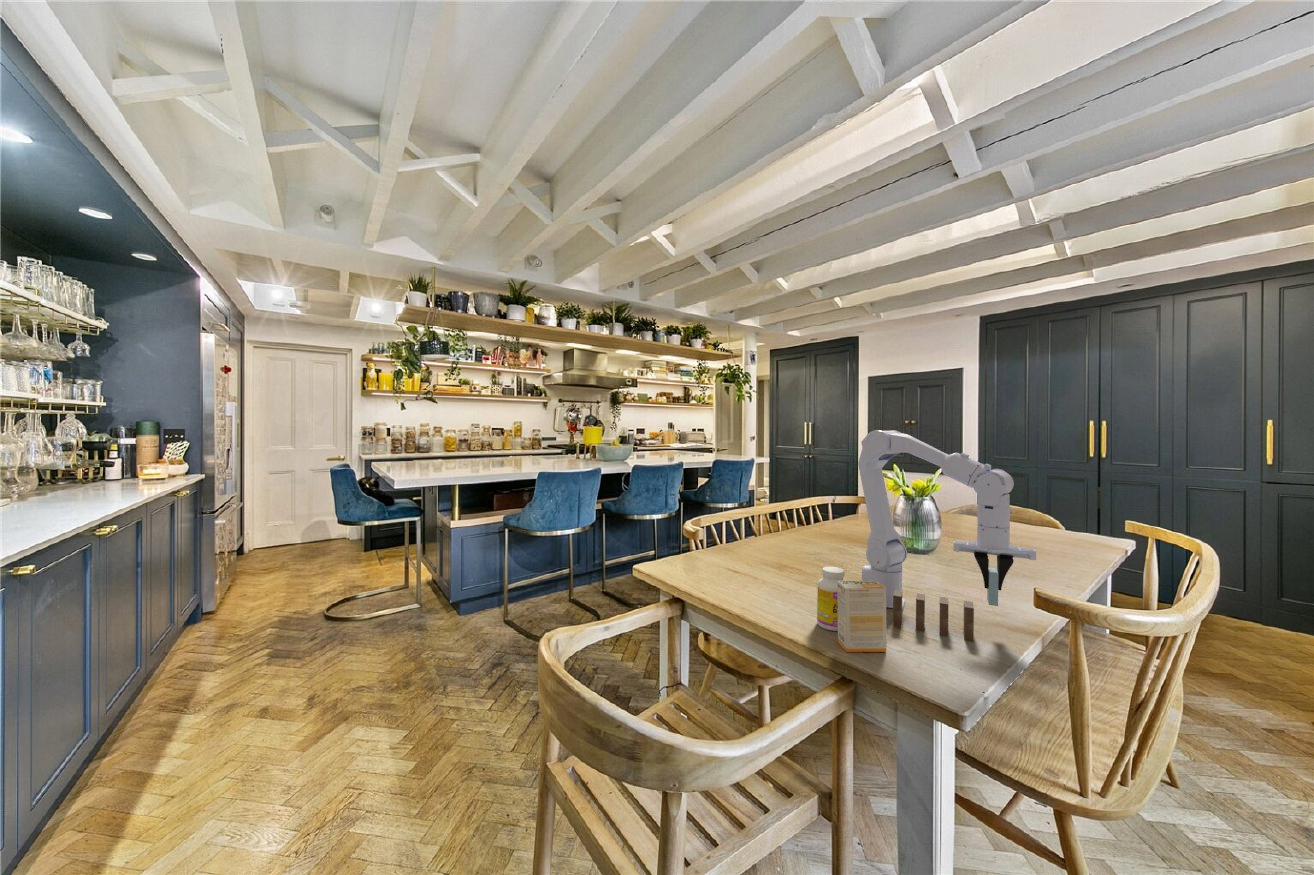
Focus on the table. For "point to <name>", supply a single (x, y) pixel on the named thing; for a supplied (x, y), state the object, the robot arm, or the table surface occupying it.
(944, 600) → the domino
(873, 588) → the supplement box
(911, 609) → the table surface
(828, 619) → the supplement bottle
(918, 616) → the domino
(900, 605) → the domino
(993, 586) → the teal domino
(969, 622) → the domino
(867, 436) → the robot arm
